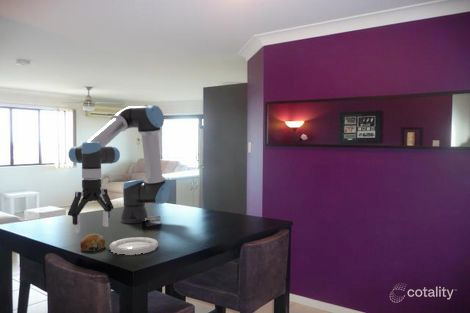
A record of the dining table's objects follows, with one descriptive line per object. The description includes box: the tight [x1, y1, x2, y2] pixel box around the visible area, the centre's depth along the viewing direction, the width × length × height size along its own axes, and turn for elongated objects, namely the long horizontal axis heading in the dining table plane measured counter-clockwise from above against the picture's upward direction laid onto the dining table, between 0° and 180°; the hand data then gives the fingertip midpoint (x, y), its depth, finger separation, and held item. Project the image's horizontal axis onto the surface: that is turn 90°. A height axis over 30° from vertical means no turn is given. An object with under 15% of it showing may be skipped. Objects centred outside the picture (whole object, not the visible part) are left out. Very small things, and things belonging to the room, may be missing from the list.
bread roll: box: [79, 233, 106, 252], centre depth 154 cm, size 10×10×8 cm
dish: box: [109, 236, 159, 256], centre depth 155 cm, size 19×19×2 cm
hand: (91, 229), depth 153 cm, fingers open, 13 cm apart
